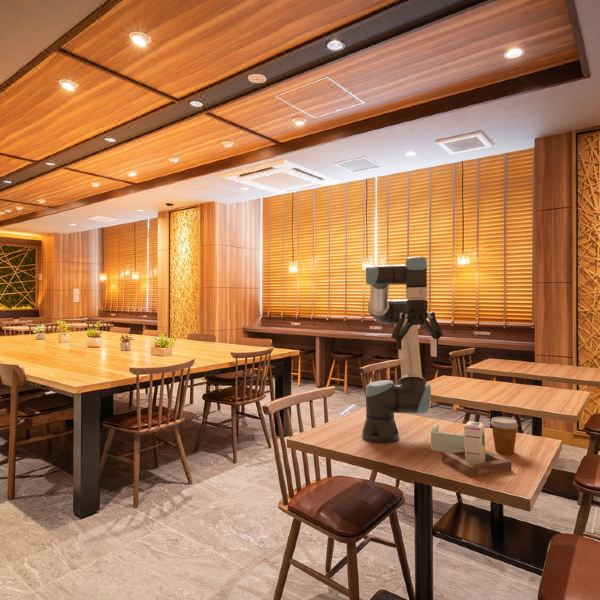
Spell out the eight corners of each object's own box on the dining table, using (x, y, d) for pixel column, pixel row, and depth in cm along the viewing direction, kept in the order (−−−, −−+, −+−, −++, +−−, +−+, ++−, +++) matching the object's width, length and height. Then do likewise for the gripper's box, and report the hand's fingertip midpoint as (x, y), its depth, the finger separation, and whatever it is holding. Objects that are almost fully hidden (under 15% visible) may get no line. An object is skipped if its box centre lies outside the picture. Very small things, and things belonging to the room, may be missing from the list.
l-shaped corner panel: (464, 455, 163) (464, 435, 163) (431, 451, 169) (430, 431, 168) (467, 445, 174) (467, 426, 174) (436, 441, 179) (435, 423, 179)
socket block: (441, 460, 158) (441, 451, 158) (478, 454, 163) (478, 446, 163) (472, 477, 142) (471, 468, 142) (511, 470, 147) (511, 461, 147)
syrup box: (482, 469, 148) (482, 427, 148) (464, 466, 152) (463, 424, 151) (485, 464, 153) (485, 422, 153) (467, 461, 156) (467, 420, 156)
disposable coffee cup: (519, 449, 167) (519, 418, 167) (517, 458, 158) (517, 424, 158) (492, 445, 172) (492, 415, 171) (489, 453, 163) (488, 421, 163)
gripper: (391, 300, 153) (392, 360, 153) (452, 298, 160) (453, 356, 161) (381, 300, 160) (382, 358, 160) (439, 298, 168) (440, 354, 168)
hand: (417, 357), depth 160 cm, fingers open, 13 cm apart
